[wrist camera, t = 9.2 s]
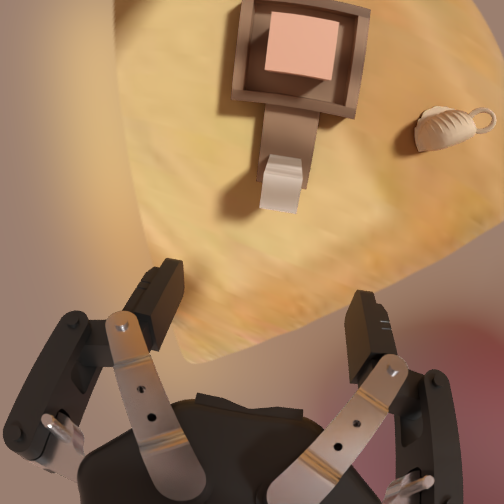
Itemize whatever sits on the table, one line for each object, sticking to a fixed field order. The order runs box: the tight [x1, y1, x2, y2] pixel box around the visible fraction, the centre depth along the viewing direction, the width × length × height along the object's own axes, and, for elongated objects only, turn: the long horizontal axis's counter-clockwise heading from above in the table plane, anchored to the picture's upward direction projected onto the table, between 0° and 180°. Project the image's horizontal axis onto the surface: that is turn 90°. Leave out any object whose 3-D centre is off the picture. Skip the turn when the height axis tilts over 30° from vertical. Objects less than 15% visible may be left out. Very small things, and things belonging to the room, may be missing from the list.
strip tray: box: [231, 0, 371, 214], centre depth 21 cm, size 19×11×7 cm, turn 174°
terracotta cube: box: [265, 12, 339, 81], centre depth 19 cm, size 5×5×5 cm
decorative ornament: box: [415, 106, 496, 152], centre depth 21 cm, size 4×8×5 cm, turn 118°
